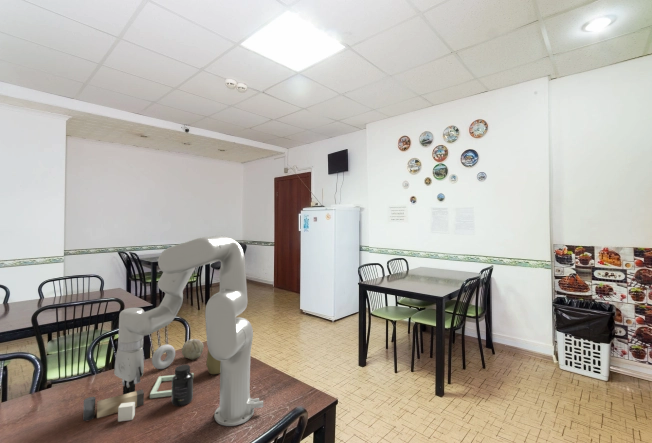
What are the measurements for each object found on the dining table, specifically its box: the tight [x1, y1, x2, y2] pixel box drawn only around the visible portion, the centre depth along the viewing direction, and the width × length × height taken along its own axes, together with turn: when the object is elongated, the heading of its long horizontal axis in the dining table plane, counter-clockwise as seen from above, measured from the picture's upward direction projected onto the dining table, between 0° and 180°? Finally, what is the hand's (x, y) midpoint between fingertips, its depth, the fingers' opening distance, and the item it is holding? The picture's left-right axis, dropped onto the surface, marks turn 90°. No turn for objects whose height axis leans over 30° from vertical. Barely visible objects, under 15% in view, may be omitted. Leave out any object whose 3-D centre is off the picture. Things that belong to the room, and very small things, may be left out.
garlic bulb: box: [181, 338, 204, 361], centre depth 144 cm, size 9×8×10 cm
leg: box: [96, 389, 145, 419], centre depth 105 cm, size 13×3×4 cm, turn 126°
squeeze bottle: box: [206, 349, 221, 375], centre depth 132 cm, size 8×8×18 cm
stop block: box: [117, 402, 136, 422], centre depth 100 cm, size 4×2×4 cm, turn 106°
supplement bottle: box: [171, 364, 194, 407], centre depth 110 cm, size 7×7×12 cm
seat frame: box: [149, 372, 195, 399], centre depth 119 cm, size 13×13×2 cm
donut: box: [151, 343, 176, 370], centre depth 133 cm, size 10×3×10 cm, turn 149°
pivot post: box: [82, 396, 96, 422], centre depth 100 cm, size 3×3×6 cm
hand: (128, 396), depth 109 cm, fingers closed
